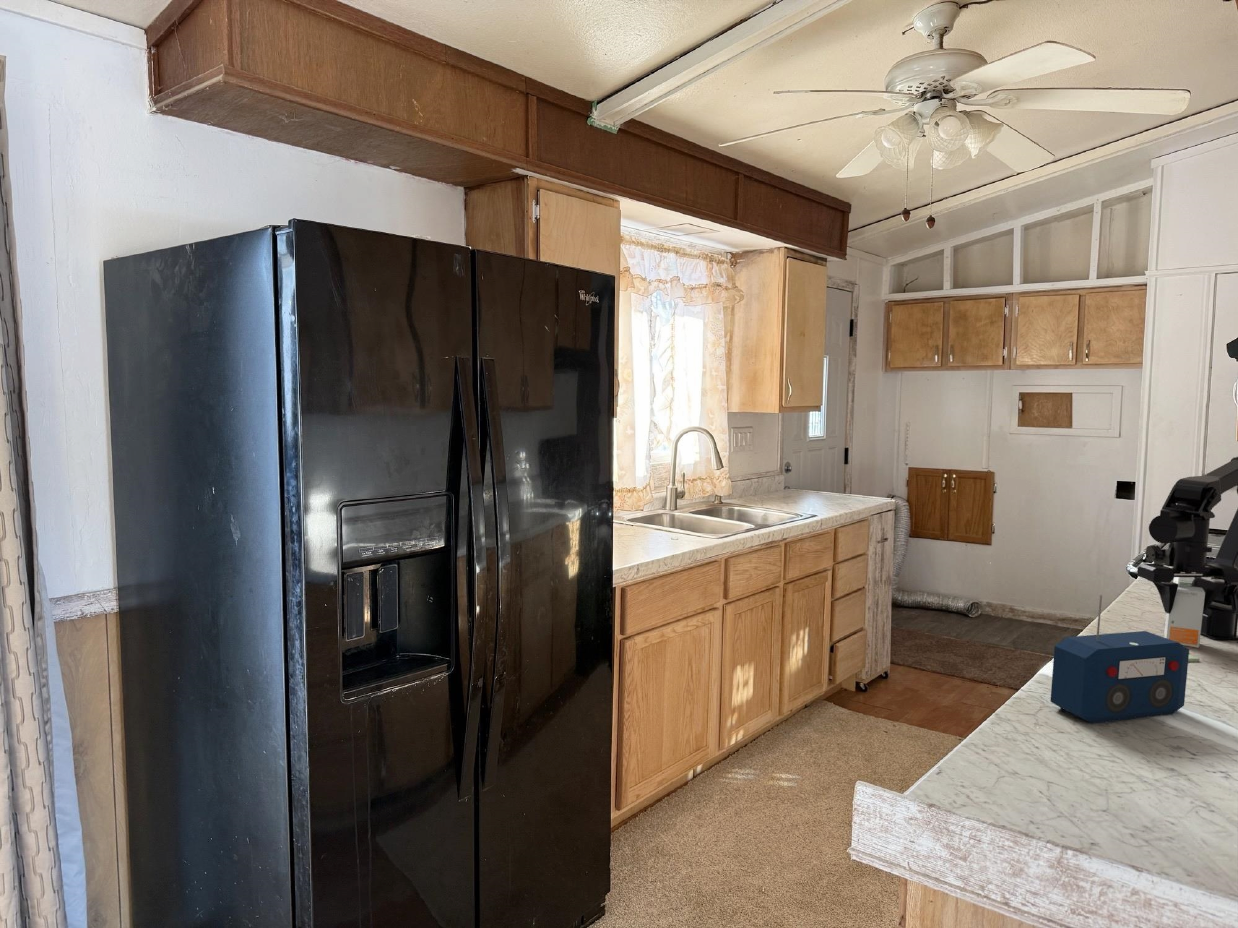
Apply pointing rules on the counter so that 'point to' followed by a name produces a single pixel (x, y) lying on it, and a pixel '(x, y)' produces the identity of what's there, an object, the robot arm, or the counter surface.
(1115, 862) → the counter surface
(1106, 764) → the counter surface
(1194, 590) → the skincare box
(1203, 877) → the counter surface
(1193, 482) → the robot arm
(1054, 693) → the radio
